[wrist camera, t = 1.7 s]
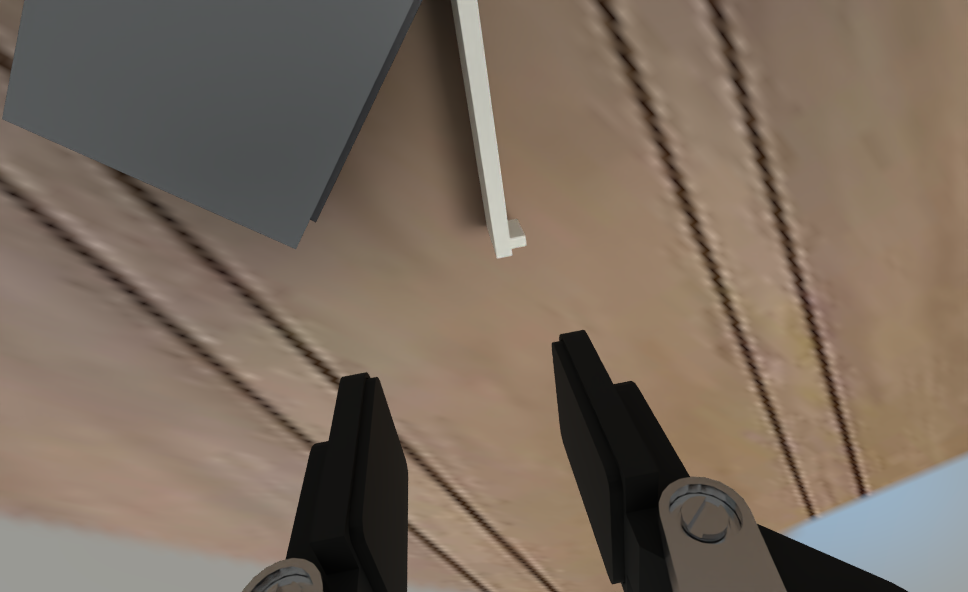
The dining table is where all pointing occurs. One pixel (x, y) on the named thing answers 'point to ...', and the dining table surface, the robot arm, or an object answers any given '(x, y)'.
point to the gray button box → (210, 94)
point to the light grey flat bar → (484, 128)
